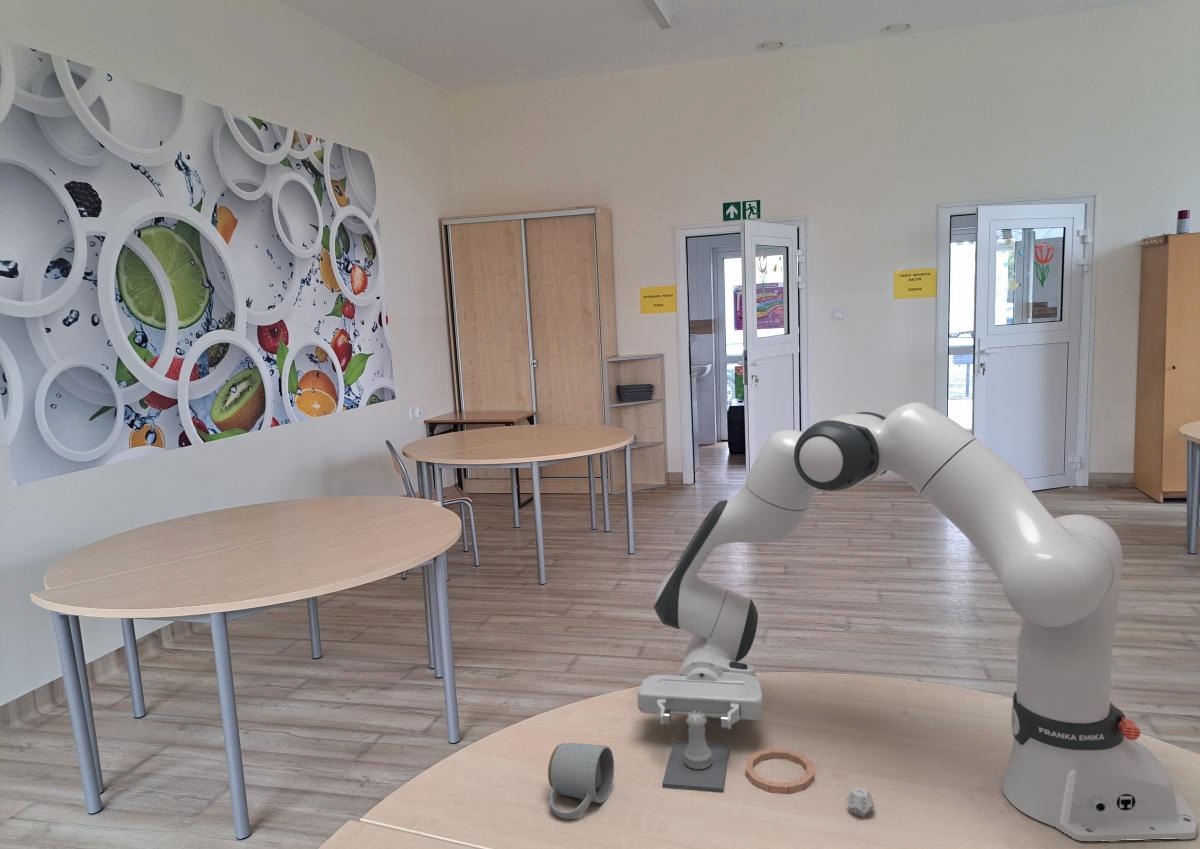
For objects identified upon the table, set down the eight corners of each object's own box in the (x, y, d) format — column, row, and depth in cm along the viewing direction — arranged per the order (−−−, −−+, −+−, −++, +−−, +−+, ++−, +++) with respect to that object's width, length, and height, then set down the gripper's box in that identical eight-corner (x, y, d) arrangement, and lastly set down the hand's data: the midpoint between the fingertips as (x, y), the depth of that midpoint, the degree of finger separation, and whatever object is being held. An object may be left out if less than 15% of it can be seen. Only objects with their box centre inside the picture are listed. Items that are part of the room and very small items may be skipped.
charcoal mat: (729, 747, 129) (729, 744, 129) (723, 792, 117) (723, 788, 117) (673, 743, 131) (673, 740, 131) (662, 787, 119) (662, 783, 119)
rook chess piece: (711, 754, 126) (709, 706, 125) (714, 770, 122) (712, 721, 121) (682, 755, 126) (680, 708, 125) (684, 771, 122) (682, 722, 121)
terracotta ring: (812, 757, 125) (812, 751, 125) (814, 795, 115) (814, 789, 115) (747, 752, 127) (747, 746, 127) (744, 789, 117) (744, 783, 117)
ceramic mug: (567, 774, 124) (563, 729, 123) (616, 783, 121) (613, 736, 120) (537, 817, 114) (532, 768, 113) (590, 827, 111) (586, 777, 110)
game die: (864, 823, 109) (863, 803, 108) (841, 810, 112) (841, 791, 111) (879, 812, 111) (879, 792, 110) (856, 800, 114) (856, 781, 113)
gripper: (643, 660, 139) (627, 699, 125) (763, 666, 134) (760, 707, 121) (645, 694, 140) (630, 736, 126) (764, 701, 135) (762, 746, 122)
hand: (695, 722), depth 123 cm, fingers open, 8 cm apart
